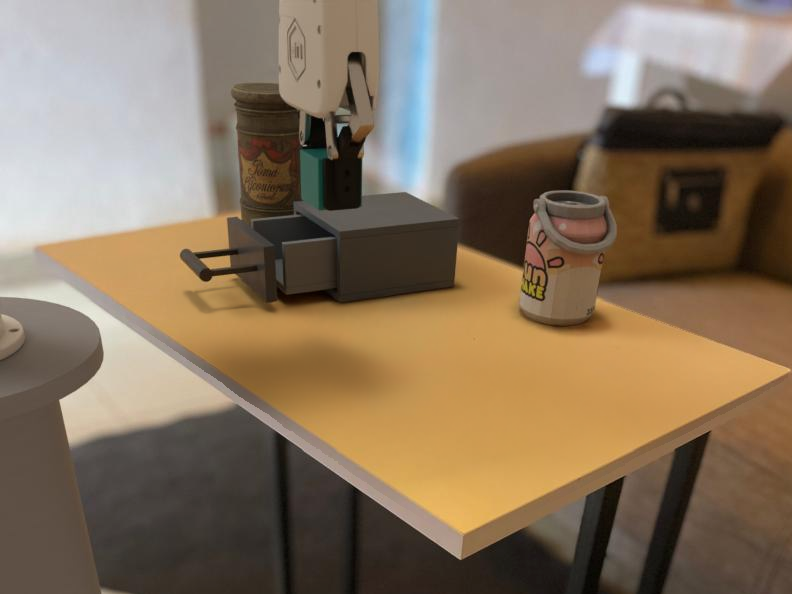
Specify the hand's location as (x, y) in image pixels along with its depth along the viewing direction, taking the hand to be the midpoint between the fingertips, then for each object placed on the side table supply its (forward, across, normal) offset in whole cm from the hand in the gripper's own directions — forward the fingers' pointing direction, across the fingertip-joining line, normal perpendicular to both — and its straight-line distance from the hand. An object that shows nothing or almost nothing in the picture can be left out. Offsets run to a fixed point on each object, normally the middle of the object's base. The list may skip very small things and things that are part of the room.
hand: (330, 199), depth 72 cm
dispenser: (+14, -18, +13) cm, 27 cm away
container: (+14, -34, +7) cm, 37 cm away
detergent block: (0, 0, 0) cm, 0 cm away
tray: (+13, -18, +1) cm, 22 cm away
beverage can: (+14, 0, +27) cm, 30 cm away
